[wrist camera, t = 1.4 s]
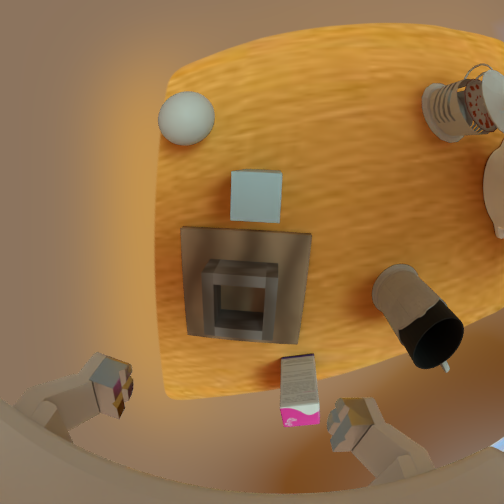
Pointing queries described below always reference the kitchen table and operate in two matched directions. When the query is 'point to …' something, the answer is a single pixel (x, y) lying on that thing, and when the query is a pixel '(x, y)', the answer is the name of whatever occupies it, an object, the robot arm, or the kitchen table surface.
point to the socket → (244, 283)
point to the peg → (256, 195)
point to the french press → (465, 106)
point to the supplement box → (299, 391)
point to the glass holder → (417, 316)
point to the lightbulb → (186, 118)
